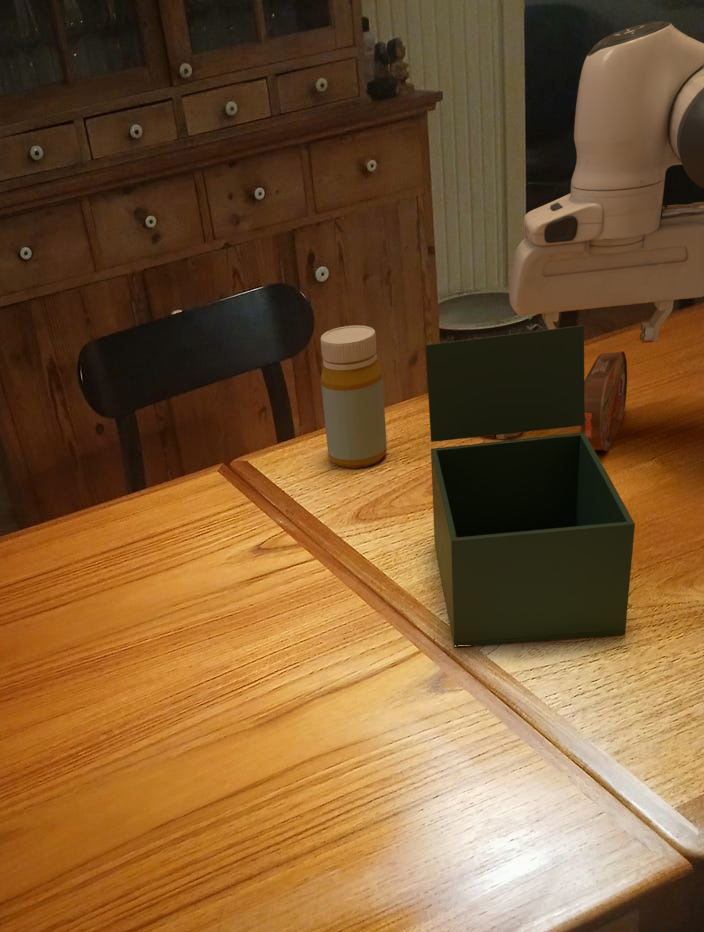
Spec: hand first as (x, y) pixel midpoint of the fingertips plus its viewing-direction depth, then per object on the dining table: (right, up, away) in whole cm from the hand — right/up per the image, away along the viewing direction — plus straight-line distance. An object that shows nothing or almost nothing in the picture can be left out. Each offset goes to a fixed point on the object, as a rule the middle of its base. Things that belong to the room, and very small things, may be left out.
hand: (603, 345), depth 108 cm
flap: (-16, -9, -18) cm, 26 cm away
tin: (+2, -9, +6) cm, 11 cm away
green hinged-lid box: (-14, -27, -17) cm, 36 cm away
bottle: (-26, -10, +11) cm, 30 cm away
